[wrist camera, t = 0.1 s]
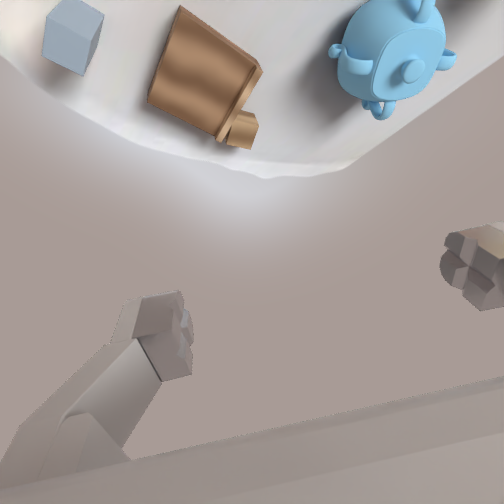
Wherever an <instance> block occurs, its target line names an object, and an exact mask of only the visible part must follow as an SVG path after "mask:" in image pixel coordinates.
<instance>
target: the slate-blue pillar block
mask: <svg viewBox="0 0 504 504" xmlns="http://www.w3.org/2000/svg"><path fill="white" fill-rule="evenodd" d="M103 19H104V14H102V13H101V12H99V11H97V10H96V9H94V8H93V7H91V6H89V5H88V4H86V3H84V2H83V1H81V0H62V1H61V2H60V3H59V4H58V5H57V6H56V7H55V8H54V9H53V10H52V11H51V12H50V13H49V14H48V15H47V17H46V25H45V33H44V41H43V49H42V56H43V57H45V58H47V59H49V60H51V61H53V62H55V63H57V64H59V65H61V66H63V67H65V68H67V69H69V70H71V71H73V72H75V73H77V74H79V75H81V76H84V74H85V72H86V70H87V67H88V65H89V63H90V61H91V59H92V57H93V54H94V52H95V50H96V48H97V45H98V41H99V37H100V32H101V28H102V24H103Z"/></svg>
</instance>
